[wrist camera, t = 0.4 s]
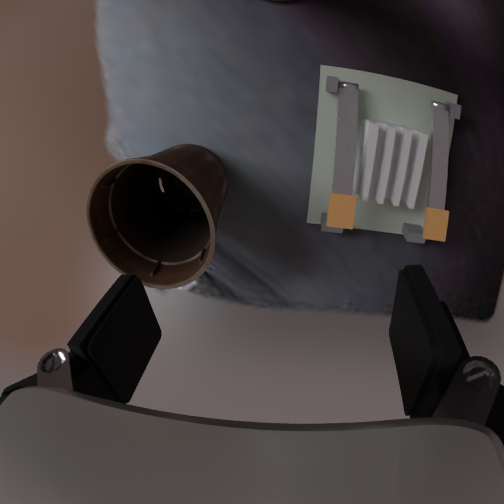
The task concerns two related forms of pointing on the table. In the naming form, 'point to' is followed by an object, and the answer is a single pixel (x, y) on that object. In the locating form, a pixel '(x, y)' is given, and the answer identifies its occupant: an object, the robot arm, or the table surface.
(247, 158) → the table surface
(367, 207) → the cooler board
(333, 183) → the strap
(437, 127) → the strap
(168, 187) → the plant pot
